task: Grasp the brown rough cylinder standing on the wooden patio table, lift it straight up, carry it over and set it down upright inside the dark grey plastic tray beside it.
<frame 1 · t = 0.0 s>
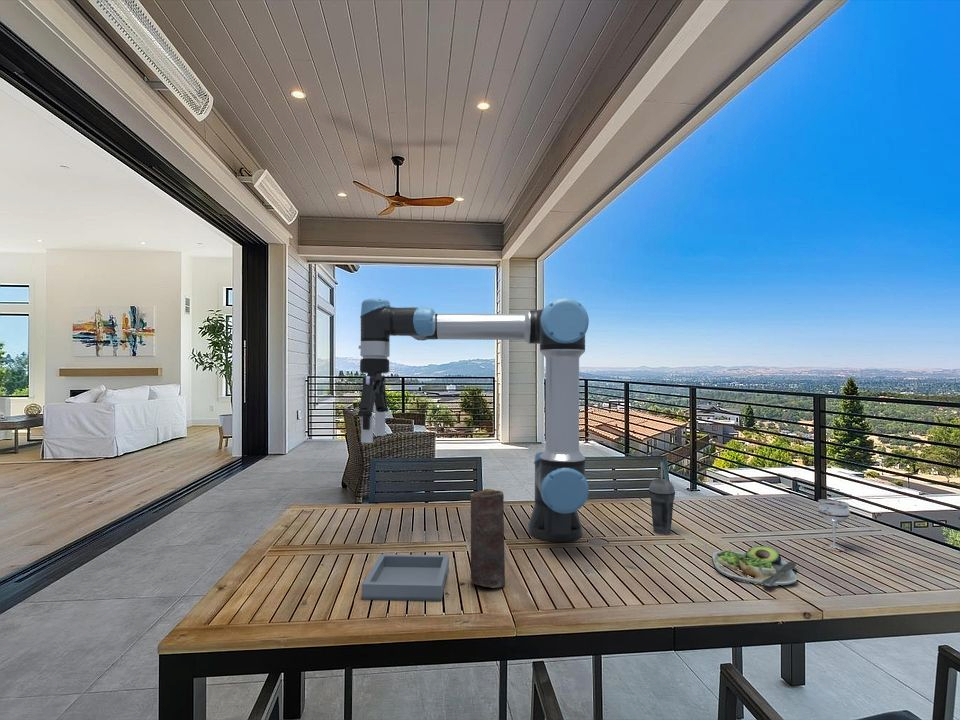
hand: (373, 439, 125), 28 cm above the table, tool pointing down, fingers open, 13 cm apart
beverage cup: (662, 532, 137), on the table
tray: (408, 582, 103), on the table
brown rough cylinder: (487, 585, 102), on the table
salad plate: (753, 572, 111), on the table
wineglass: (834, 549, 125), on the table
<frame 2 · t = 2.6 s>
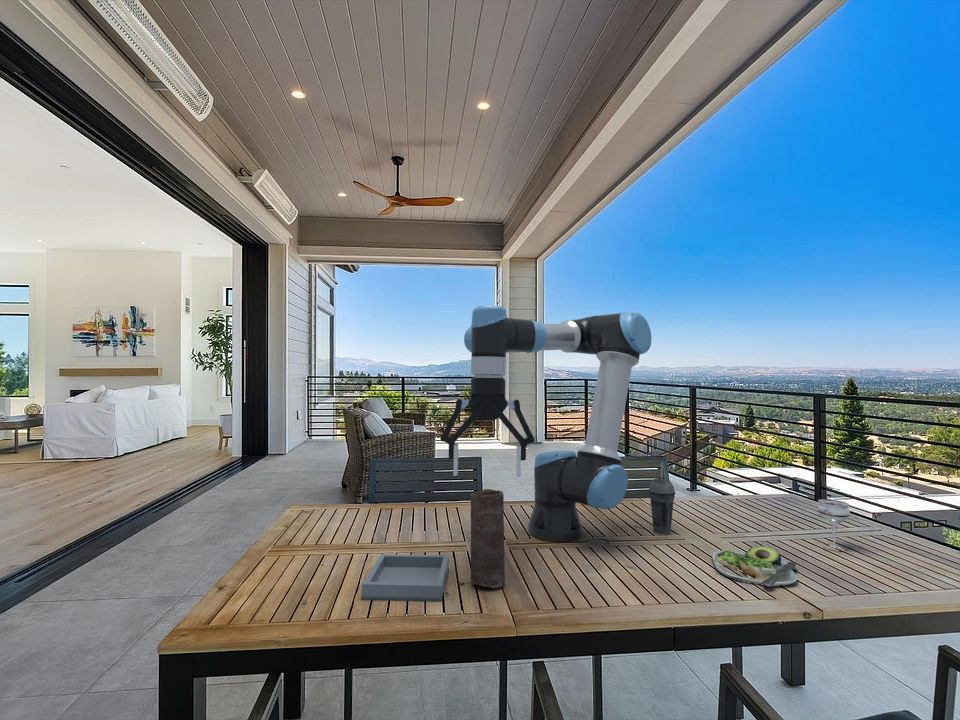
hand: (487, 475, 103), 23 cm above the table, tool pointing down, fingers open, 13 cm apart
nothing on the table moved.
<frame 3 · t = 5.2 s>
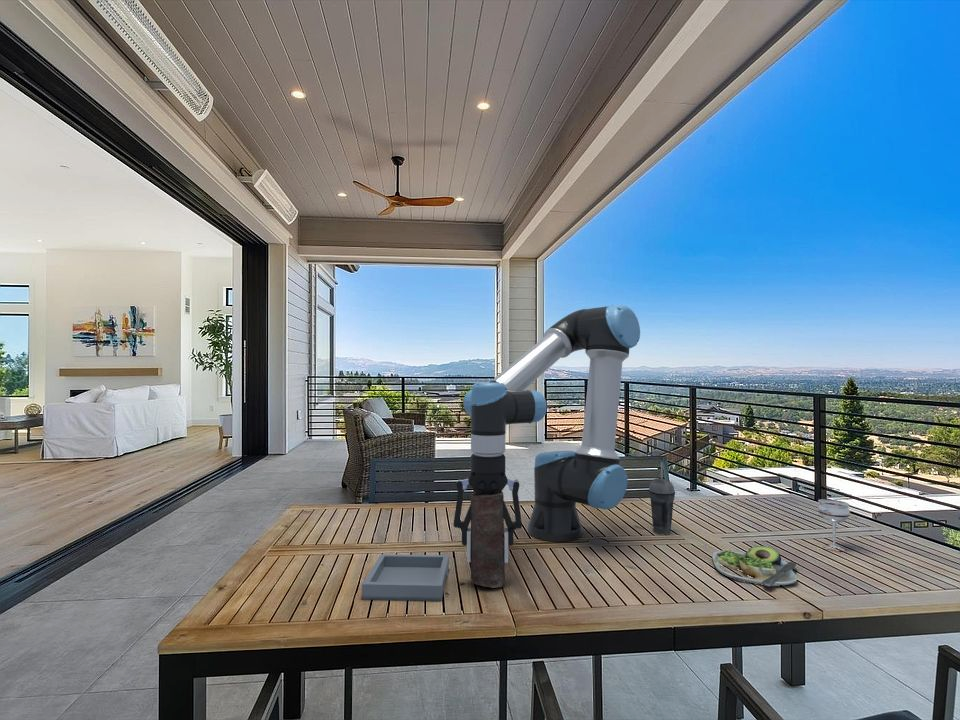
hand: (487, 560, 102), 5 cm above the table, tool pointing down, fingers closed on brown rough cylinder, 7 cm apart
brown rough cylinder: (487, 585, 102), on the table, touching gripper
everything else where it was.
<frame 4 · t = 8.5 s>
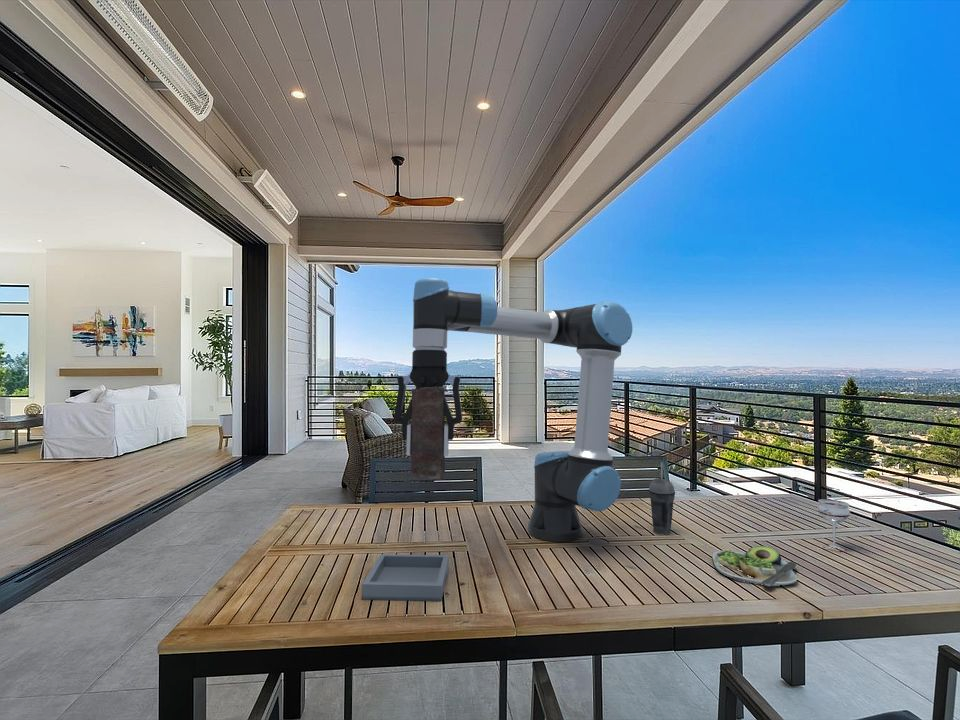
hand: (427, 454, 103), 28 cm above the table, tool pointing down, fingers closed on brown rough cylinder, 7 cm apart
brown rough cylinder: (427, 479, 103), point 22 cm above the table, touching gripper
everything else where it was.
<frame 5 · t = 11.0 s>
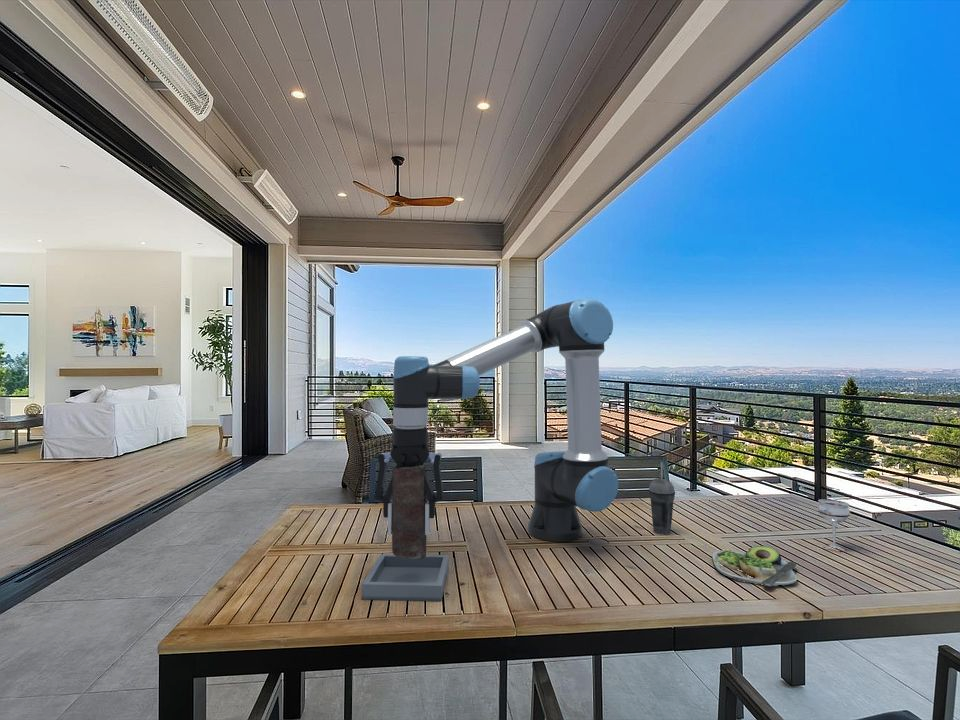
hand: (409, 532, 103), 11 cm above the table, tool pointing down, fingers closed on brown rough cylinder, 7 cm apart
brown rough cylinder: (408, 557, 103), point 5 cm above the table, touching gripper
everything else where it was.
when the fingers open (7 cm above the table, at t = 12.1 s): brown rough cylinder drops 1 cm, resting on tray.
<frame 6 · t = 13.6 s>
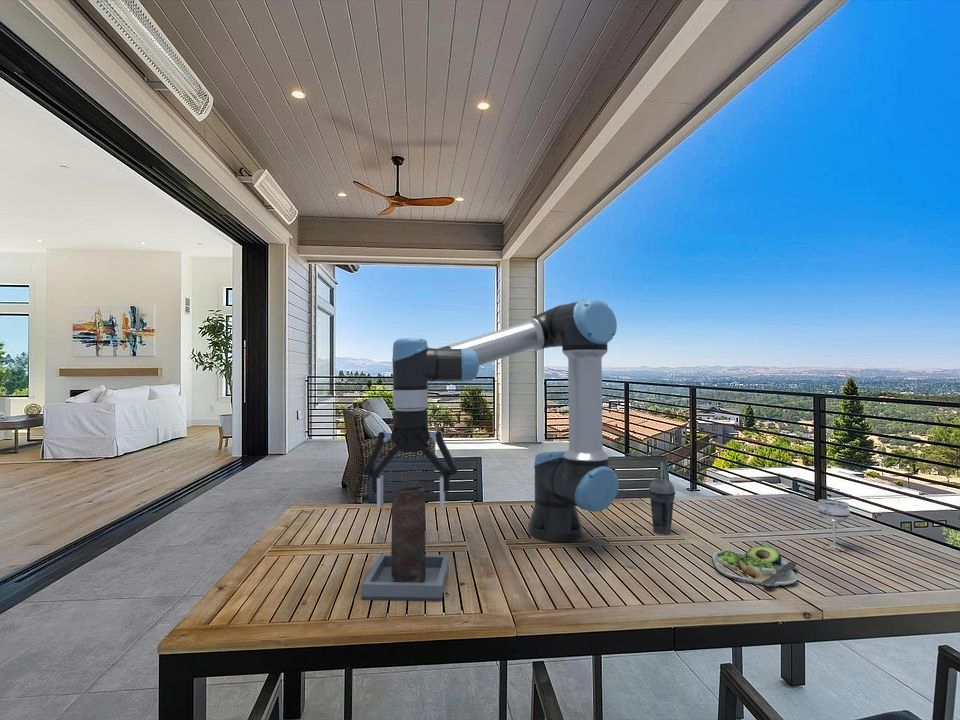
hand: (411, 507, 103), 16 cm above the table, tool pointing down, fingers open, 13 cm apart
brown rough cylinder: (407, 580, 103), resting on tray
everything else where it was.
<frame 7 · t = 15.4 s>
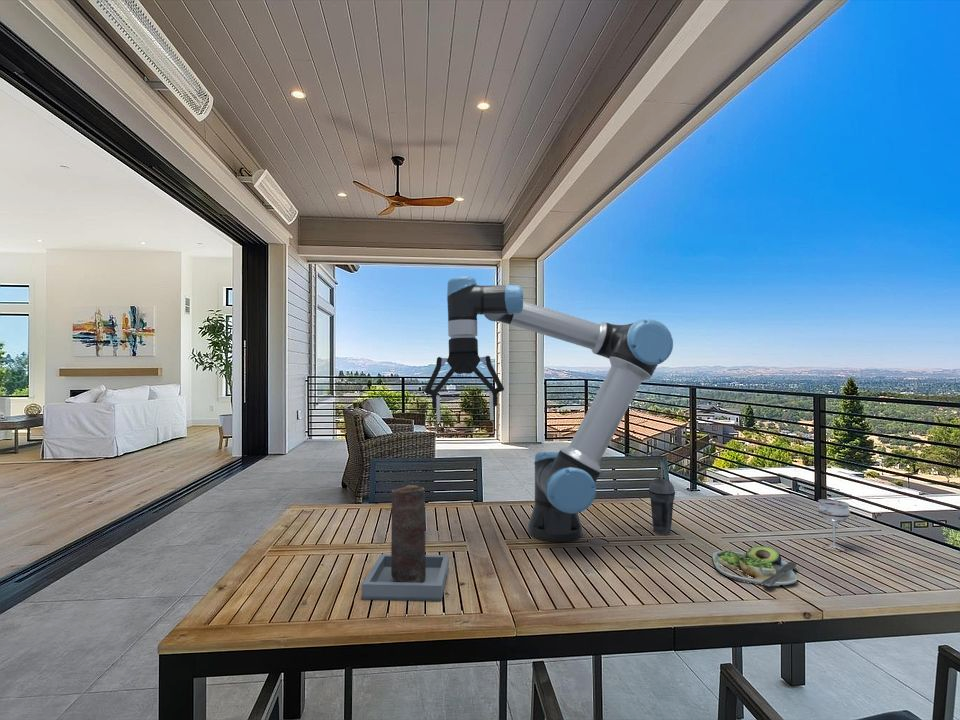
hand: (465, 420, 122), 33 cm above the table, tool pointing down, fingers open, 13 cm apart
nothing on the table moved.
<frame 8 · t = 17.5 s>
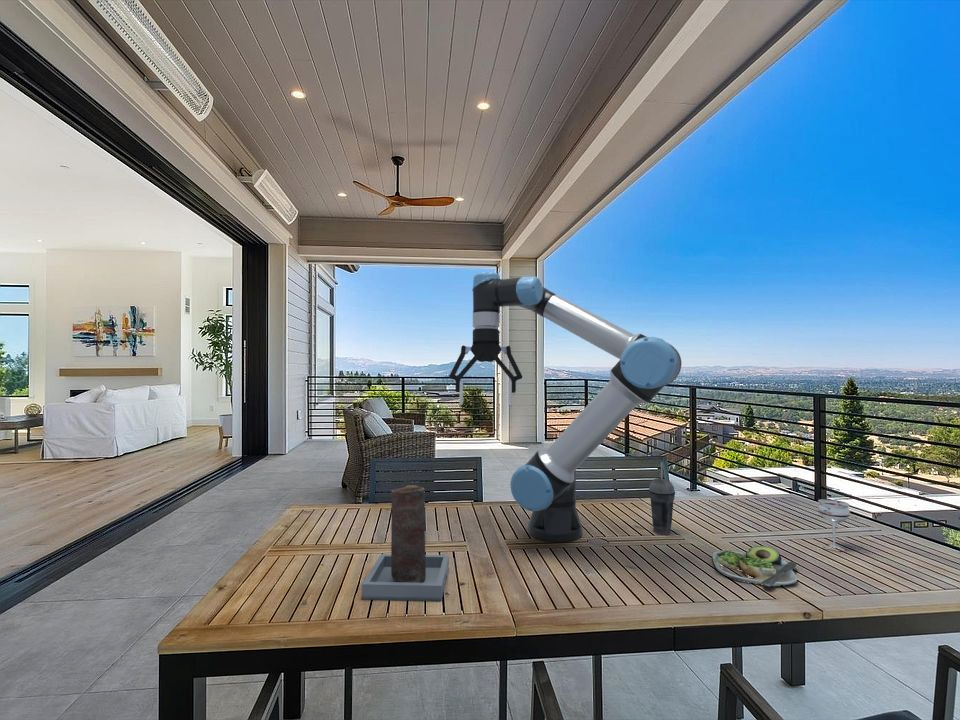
hand: (485, 404, 132), 37 cm above the table, tool pointing down, fingers open, 13 cm apart
nothing on the table moved.
at the end: brown rough cylinder inside the target area on the tray (0.2 cm from its centre), point 0.4 cm above the tray's base; brown rough cylinder tilted 0°; the gripper is holding nothing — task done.
